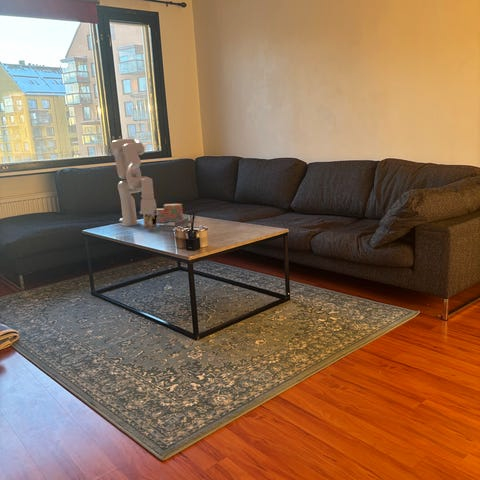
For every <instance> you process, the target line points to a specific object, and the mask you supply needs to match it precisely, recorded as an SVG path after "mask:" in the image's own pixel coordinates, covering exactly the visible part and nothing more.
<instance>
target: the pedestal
mask: <svg viewBox="0 0 480 480" xmlns="http://www.w3.org/2000/svg"><path fill="white" fill-rule="evenodd" d="M152 219H153V217H152V215H147V216H146V217H144V218H143V223H144V225H143V226H144V229H155V228H156V227H157V228H158V225H157V223H156V224H154V225H153V221H152Z"/></svg>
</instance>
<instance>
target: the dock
mask: <svg viewBox="0 0 480 480" xmlns="http://www.w3.org/2000/svg"><path fill="white" fill-rule="evenodd" d="M188 225H189V217H185V218H183V219H182V220H180V221H175V220H170V222H165V223H164V224H158V225H157V229H158V231H167V232H169V231H170V232H171V231H172V232H173V229H174V228H175V227H178V226H181V227H184V226H187V227H189V226H188Z"/></svg>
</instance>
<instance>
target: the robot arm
mask: <svg viewBox="0 0 480 480" xmlns="http://www.w3.org/2000/svg"><path fill="white" fill-rule="evenodd" d="M110 145H111V146H110V148H111V153H112V154H113V157H114V159H115V164H116V165H115V166H116V171H117V176H118V177H119V179H124V180H121V181H119V182H118V183H117V189H118V194H119V197H120V204H121V214H122V217H121V218H119V222H121V226H124V227H129V226H131V227H132V226H135V225H139V224H140V221H138V219H137V211H136V202H135V201H136V200H135V198H134V197H133V195H132V194H135V193H140V192H141V195H140V198H141V199H140V210H139V214H140V216H141V217H142V218H143V219H144V217H146V216H148V215H150V216H152V217H153V219H152V221H153V225H154V224H156V225H157V222H156V218H157V216H158V215H159V214H160V213H159V211H158V210H157V209H158V208H157V202H156V199H155V195H154V185H153V183H154V182H153V178H151V177H148V176H142V172H141V169H140V166H141V164H142V161H141V158H140V157H139V156H141V155H143V154H144V153H145V151H146V149H145V146H144V144H143V143H142V142H141V141H140V140H138V139H136V138H120V139H116V140H112V142H111V144H110ZM125 179H126V180H125ZM156 213H157V214H156Z"/></svg>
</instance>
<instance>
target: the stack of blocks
mask: <svg viewBox="0 0 480 480" xmlns="http://www.w3.org/2000/svg"><path fill="white" fill-rule="evenodd" d="M183 208H184V207H183V203H165V204H163V208H157V210H158V211H159V213H160V214H159V215H158V216H157V218H156V223H169V222H170V220H175V221H180V220H182V219H184V211H183V210H184V209H183ZM156 214H157V213H156Z"/></svg>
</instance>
